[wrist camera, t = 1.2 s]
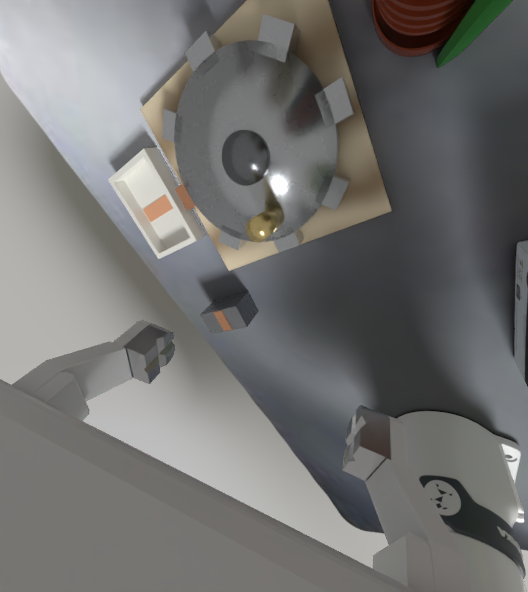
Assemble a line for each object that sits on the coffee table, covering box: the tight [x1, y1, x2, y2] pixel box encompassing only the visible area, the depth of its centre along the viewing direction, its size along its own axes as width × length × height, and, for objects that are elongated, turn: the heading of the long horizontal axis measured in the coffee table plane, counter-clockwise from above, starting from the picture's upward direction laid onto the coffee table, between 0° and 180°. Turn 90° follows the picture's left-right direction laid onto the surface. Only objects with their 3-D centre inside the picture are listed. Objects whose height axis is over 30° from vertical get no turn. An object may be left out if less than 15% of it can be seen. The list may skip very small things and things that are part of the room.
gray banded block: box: [200, 292, 258, 333], centre depth 41 cm, size 4×7×4 cm, turn 117°
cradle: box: [108, 147, 206, 259], centre depth 38 cm, size 12×8×2 cm
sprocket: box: [162, 14, 355, 253], centre depth 27 cm, size 21×21×7 cm
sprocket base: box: [140, 0, 391, 271], centre depth 30 cm, size 22×22×1 cm
